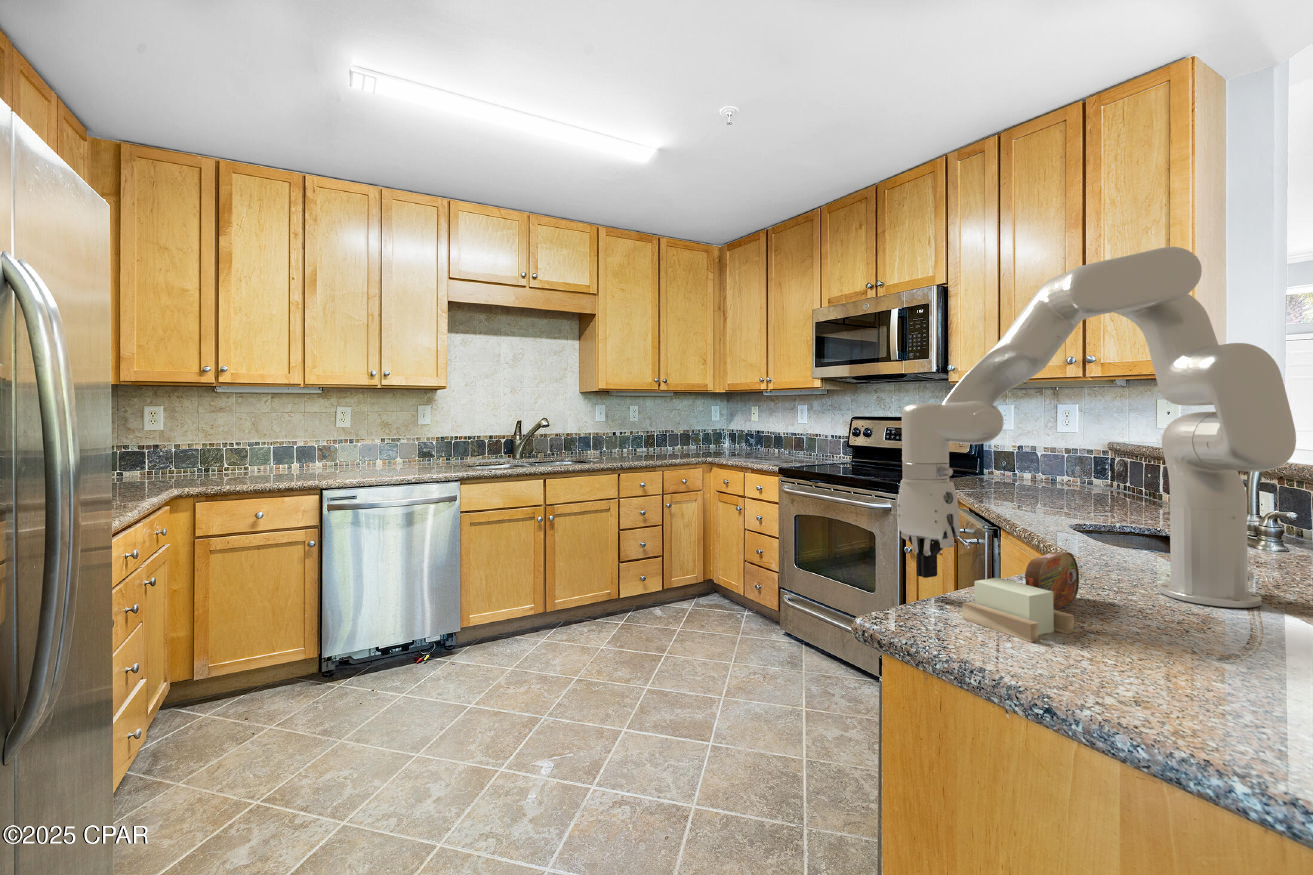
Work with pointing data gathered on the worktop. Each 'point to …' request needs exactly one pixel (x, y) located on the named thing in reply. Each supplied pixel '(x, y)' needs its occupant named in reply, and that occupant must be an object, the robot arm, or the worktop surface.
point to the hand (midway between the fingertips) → (926, 575)
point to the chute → (1013, 621)
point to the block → (1017, 601)
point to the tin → (1055, 576)
